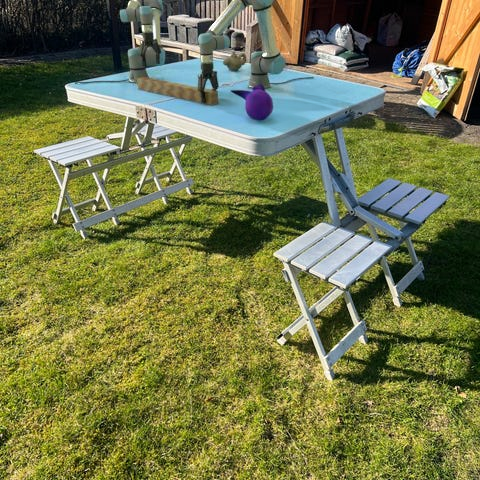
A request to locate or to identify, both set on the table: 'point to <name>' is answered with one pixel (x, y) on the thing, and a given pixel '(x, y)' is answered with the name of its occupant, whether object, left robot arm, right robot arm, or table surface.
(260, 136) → the table surface
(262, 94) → the toy
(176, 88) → the block
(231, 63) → the teapot
